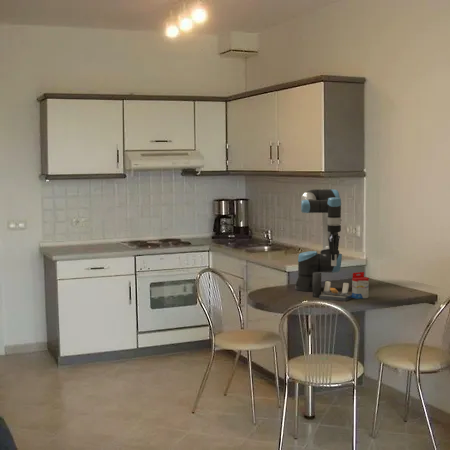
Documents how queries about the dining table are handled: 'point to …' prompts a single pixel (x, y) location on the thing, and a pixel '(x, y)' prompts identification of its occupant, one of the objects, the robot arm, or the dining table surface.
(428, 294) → the dining table surface
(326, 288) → the paddle left
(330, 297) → the panel
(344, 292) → the paddle right
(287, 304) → the dining table surface
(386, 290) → the dining table surface
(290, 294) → the dining table surface
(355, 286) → the ink box
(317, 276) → the post
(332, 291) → the block
